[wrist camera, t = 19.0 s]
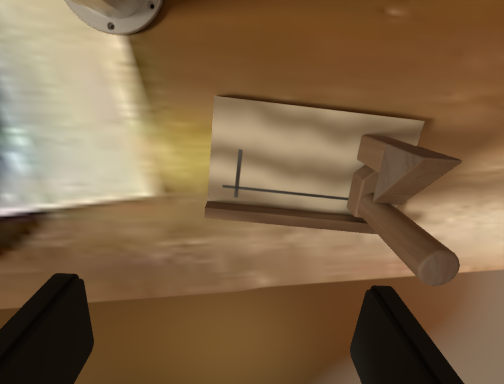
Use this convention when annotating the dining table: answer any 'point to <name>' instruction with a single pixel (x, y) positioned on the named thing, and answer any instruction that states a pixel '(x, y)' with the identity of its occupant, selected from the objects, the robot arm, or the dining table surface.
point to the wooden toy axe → (397, 192)
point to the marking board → (291, 162)
